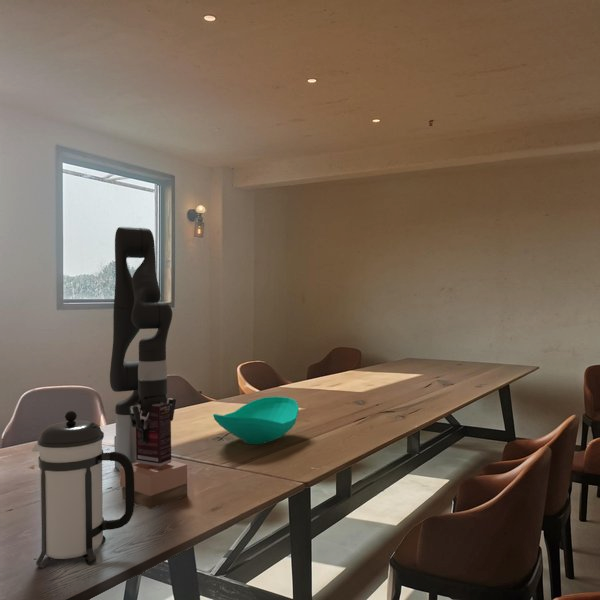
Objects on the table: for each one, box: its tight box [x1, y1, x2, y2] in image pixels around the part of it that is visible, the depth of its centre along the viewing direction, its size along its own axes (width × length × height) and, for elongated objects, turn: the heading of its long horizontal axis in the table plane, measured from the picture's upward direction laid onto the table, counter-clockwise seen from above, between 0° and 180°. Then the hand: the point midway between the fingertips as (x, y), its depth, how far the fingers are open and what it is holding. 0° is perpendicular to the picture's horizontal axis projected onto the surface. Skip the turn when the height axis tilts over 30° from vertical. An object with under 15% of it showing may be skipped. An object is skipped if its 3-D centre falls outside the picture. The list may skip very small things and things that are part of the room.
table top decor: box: [212, 396, 300, 445], centre depth 206 cm, size 40×28×13 cm
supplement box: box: [135, 403, 172, 466], centre depth 150 cm, size 9×5×16 cm, turn 62°
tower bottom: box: [121, 482, 188, 510], centre depth 150 cm, size 12×12×4 cm
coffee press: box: [31, 410, 135, 569], centre depth 118 cm, size 17×16×30 cm
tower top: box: [119, 459, 188, 496], centre depth 150 cm, size 13×12×5 cm
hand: (153, 440), depth 150 cm, fingers closed on supplement box, 5 cm apart
